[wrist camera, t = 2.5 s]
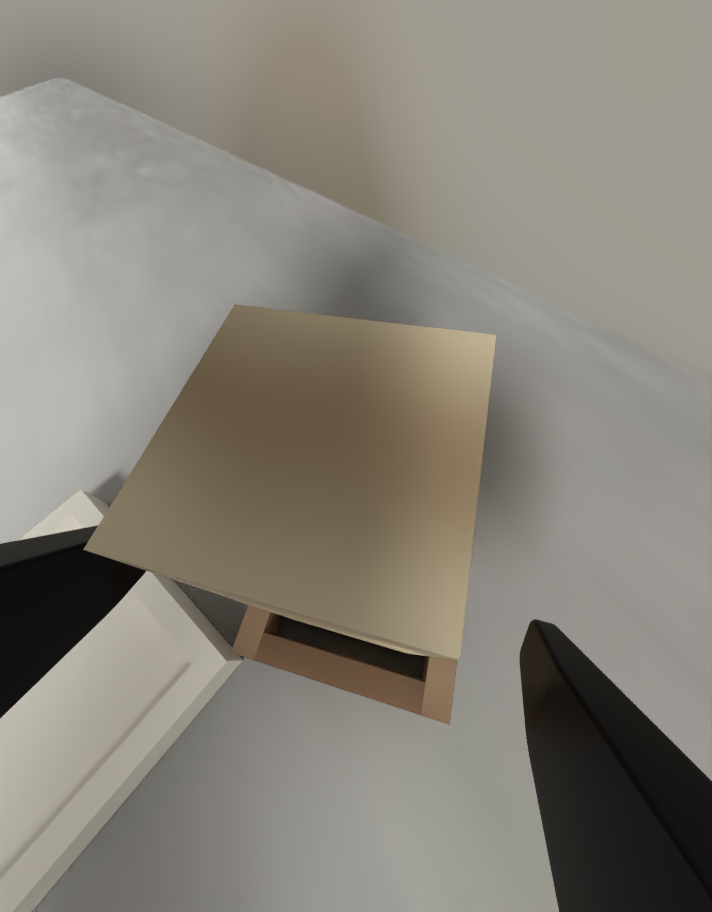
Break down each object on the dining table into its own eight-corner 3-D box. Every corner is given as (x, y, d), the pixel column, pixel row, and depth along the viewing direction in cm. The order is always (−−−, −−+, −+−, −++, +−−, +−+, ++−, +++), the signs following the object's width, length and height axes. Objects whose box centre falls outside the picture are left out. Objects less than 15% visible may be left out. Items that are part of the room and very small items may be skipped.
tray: (-28, 982, 12) (-94, 1035, 10) (-126, 697, 16) (-182, 703, 14) (243, 660, 16) (226, 661, 14) (105, 501, 20) (80, 489, 18)
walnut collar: (442, 715, 14) (449, 724, 12) (248, 652, 16) (230, 652, 14) (467, 515, 18) (475, 500, 16) (308, 481, 19) (300, 464, 18)
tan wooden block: (406, 653, 15) (459, 660, 4) (298, 621, 16) (83, 549, 5) (426, 541, 17) (496, 335, 6) (329, 518, 18) (234, 304, 7)
